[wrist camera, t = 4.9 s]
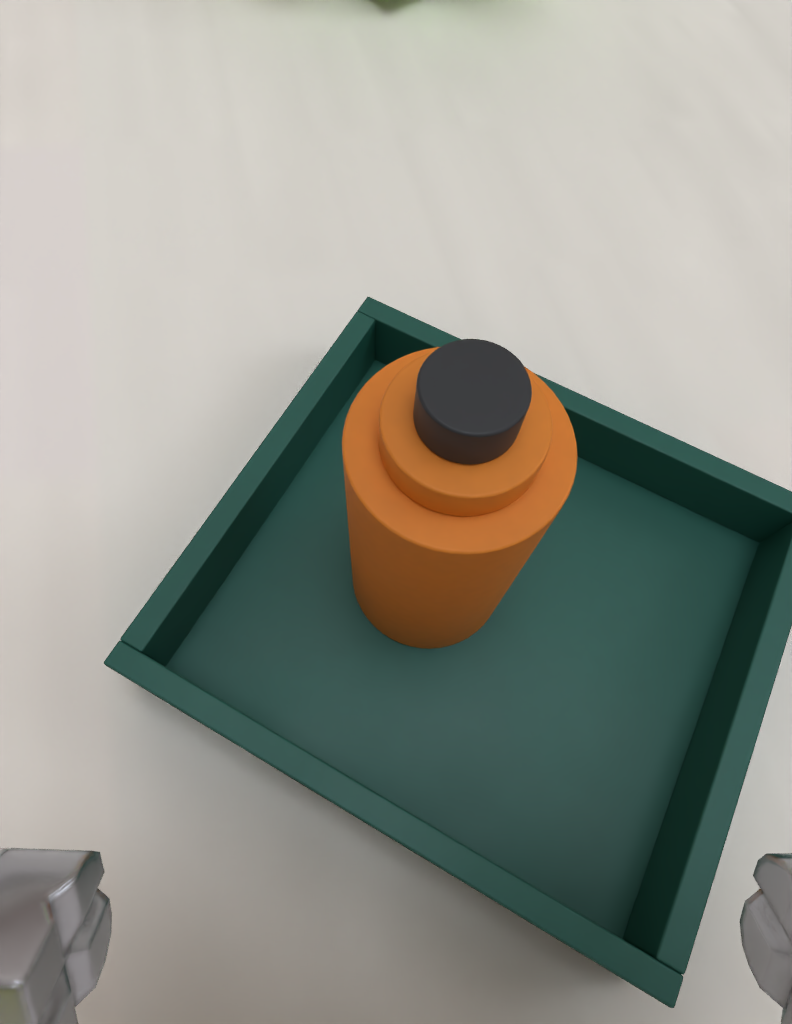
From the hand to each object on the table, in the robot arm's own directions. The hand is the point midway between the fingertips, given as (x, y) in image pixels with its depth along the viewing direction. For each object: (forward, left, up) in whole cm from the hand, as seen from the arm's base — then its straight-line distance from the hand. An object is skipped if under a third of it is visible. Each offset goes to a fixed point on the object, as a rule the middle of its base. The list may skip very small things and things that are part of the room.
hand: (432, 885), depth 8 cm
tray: (+8, +1, -13) cm, 16 cm away
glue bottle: (+8, +3, -13) cm, 15 cm away
